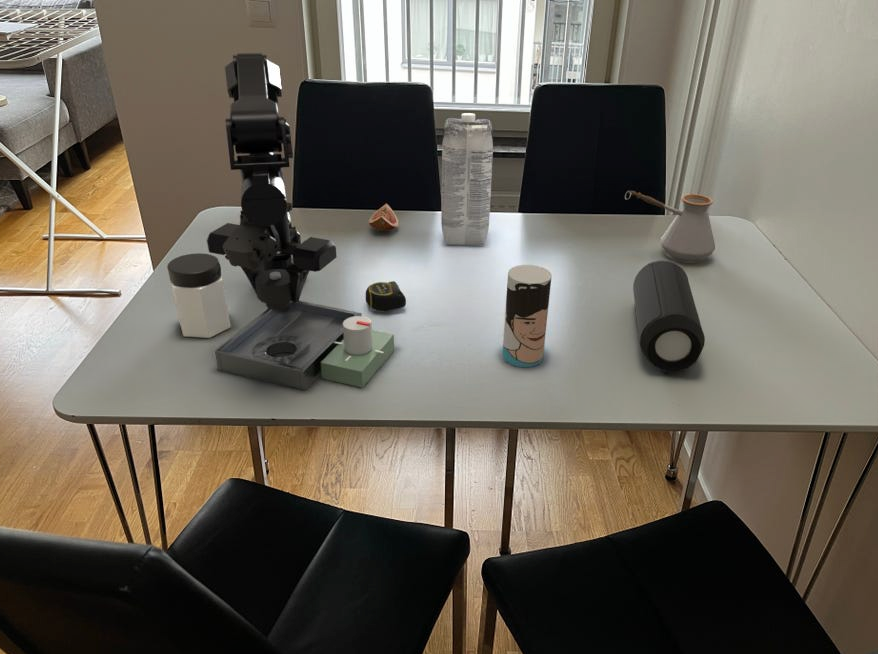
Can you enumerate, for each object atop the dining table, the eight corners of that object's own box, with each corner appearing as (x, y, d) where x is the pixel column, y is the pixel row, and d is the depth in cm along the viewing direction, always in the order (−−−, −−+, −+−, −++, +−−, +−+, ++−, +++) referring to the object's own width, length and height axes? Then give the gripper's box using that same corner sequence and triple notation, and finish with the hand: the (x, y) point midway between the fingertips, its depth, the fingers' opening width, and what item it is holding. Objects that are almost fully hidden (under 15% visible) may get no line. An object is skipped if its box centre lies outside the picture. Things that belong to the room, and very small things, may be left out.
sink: (225, 368, 111) (223, 357, 110) (285, 317, 126) (284, 307, 125) (303, 386, 107) (302, 375, 106) (356, 331, 122) (355, 321, 121)
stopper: (251, 309, 107) (246, 278, 105) (272, 292, 112) (268, 263, 110) (285, 316, 106) (281, 285, 103) (305, 299, 111) (302, 269, 108)
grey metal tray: (217, 370, 111) (214, 351, 109) (284, 314, 126) (281, 297, 125) (305, 390, 107) (303, 371, 105) (362, 330, 122) (361, 312, 120)
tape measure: (407, 312, 128) (406, 294, 126) (370, 317, 126) (369, 298, 124) (398, 296, 134) (398, 278, 132) (362, 300, 132) (361, 282, 130)
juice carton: (488, 248, 154) (494, 122, 140) (440, 246, 154) (441, 120, 140) (487, 232, 162) (493, 111, 147) (442, 231, 162) (443, 109, 147)
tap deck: (317, 377, 110) (315, 360, 108) (352, 340, 119) (351, 324, 118) (367, 389, 107) (366, 371, 106) (399, 350, 117) (398, 334, 115)
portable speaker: (699, 380, 112) (713, 325, 107) (636, 373, 113) (646, 319, 108) (681, 306, 133) (691, 257, 128) (628, 301, 134) (636, 253, 129)
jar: (234, 333, 120) (223, 269, 114) (184, 343, 117) (170, 278, 111) (225, 310, 127) (214, 248, 121) (177, 319, 124) (163, 256, 117)
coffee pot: (699, 244, 159) (713, 179, 151) (721, 266, 149) (738, 198, 141) (608, 247, 156) (617, 181, 148) (624, 269, 147) (636, 199, 139)
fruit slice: (395, 238, 158) (394, 216, 155) (365, 236, 158) (364, 215, 155) (400, 224, 165) (400, 203, 162) (372, 222, 165) (371, 202, 162)
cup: (508, 369, 113) (515, 285, 105) (497, 347, 119) (502, 266, 111) (548, 364, 115) (557, 281, 107) (535, 343, 120) (543, 263, 112)
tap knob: (339, 351, 111) (337, 325, 108) (352, 338, 114) (350, 312, 112) (365, 357, 109) (363, 330, 107) (377, 343, 113) (375, 317, 110)
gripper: (173, 209, 96) (193, 310, 105) (293, 229, 91) (305, 333, 100) (222, 185, 105) (237, 279, 113) (334, 202, 100) (341, 299, 109)
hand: (277, 297), depth 109 cm, fingers closed on stopper, 6 cm apart
